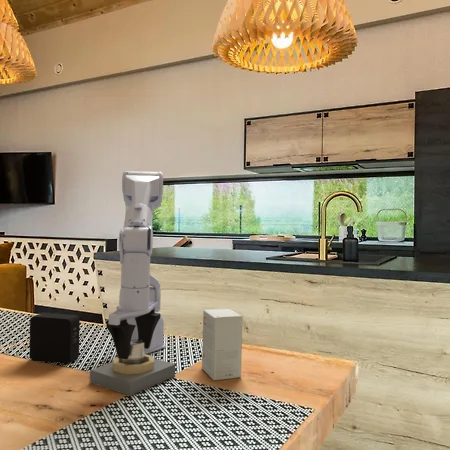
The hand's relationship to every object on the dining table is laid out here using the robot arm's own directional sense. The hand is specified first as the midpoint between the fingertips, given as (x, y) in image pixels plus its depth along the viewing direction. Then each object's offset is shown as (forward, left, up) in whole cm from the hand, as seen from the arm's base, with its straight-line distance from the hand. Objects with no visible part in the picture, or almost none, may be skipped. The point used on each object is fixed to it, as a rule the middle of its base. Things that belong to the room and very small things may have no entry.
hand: (134, 352), depth 94 cm
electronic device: (+2, -23, -6) cm, 24 cm away
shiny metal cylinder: (0, 0, -3) cm, 3 cm away
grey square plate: (0, 0, -5) cm, 5 cm away
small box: (-14, +12, -6) cm, 19 cm away
